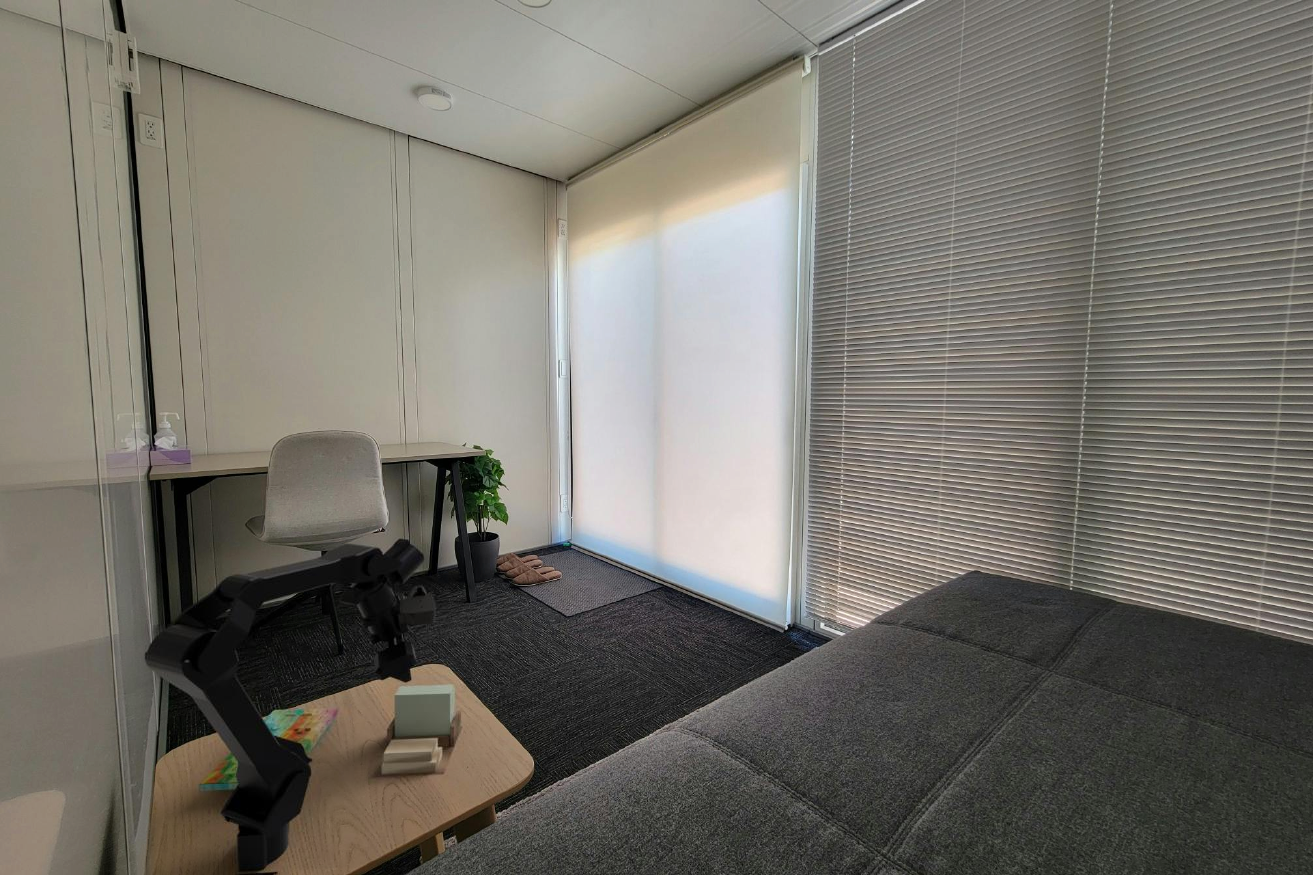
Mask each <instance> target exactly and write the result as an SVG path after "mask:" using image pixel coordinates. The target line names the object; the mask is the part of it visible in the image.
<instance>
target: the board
mask: <svg viewBox="0 0 1313 875" xmlns="http://www.w3.org/2000/svg"><path fill="white" fill-rule="evenodd" d="M394 717H395V737H410V736H434V735H450V727H451V724H452V722H453V720H454V717H455V684H436V685H435V684H434V685H432V684H431V685H402V686H401V685H400V686H399V688H398V689H397V691H396V692H395V693H394Z"/></svg>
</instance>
